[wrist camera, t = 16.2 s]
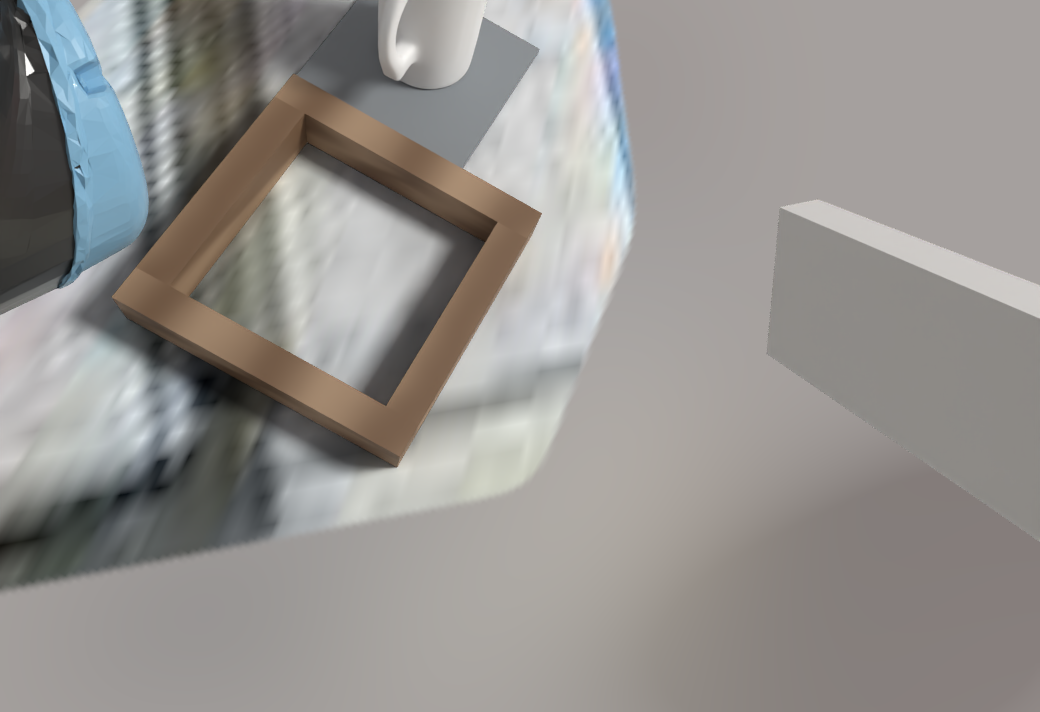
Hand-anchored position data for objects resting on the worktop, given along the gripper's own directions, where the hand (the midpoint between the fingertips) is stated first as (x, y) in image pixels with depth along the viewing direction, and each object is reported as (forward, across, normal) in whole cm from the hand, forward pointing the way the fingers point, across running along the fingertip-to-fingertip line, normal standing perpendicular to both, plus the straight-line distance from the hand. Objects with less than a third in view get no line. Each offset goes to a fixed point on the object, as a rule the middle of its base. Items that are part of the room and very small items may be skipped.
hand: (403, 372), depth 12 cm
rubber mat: (+44, +11, -2) cm, 45 cm away
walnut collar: (+34, +3, -12) cm, 36 cm away
